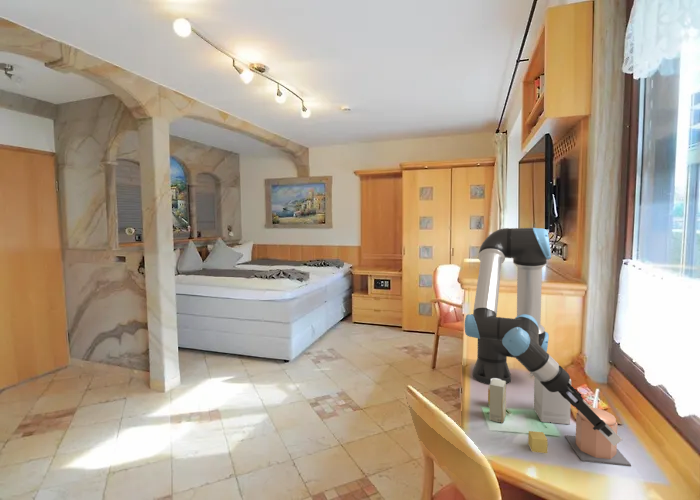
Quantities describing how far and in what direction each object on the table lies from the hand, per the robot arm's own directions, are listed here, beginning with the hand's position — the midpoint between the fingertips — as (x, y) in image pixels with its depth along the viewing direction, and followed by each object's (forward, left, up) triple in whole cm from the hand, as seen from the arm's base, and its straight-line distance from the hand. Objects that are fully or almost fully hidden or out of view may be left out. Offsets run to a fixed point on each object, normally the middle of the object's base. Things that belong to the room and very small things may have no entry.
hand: (605, 428), depth 104 cm
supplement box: (-18, -8, -7) cm, 21 cm away
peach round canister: (0, -2, -6) cm, 7 cm away
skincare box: (-14, -26, -7) cm, 31 cm away
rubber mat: (0, -2, -7) cm, 7 cm away
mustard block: (+2, -18, -7) cm, 20 cm away
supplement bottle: (-22, -25, -7) cm, 34 cm away
